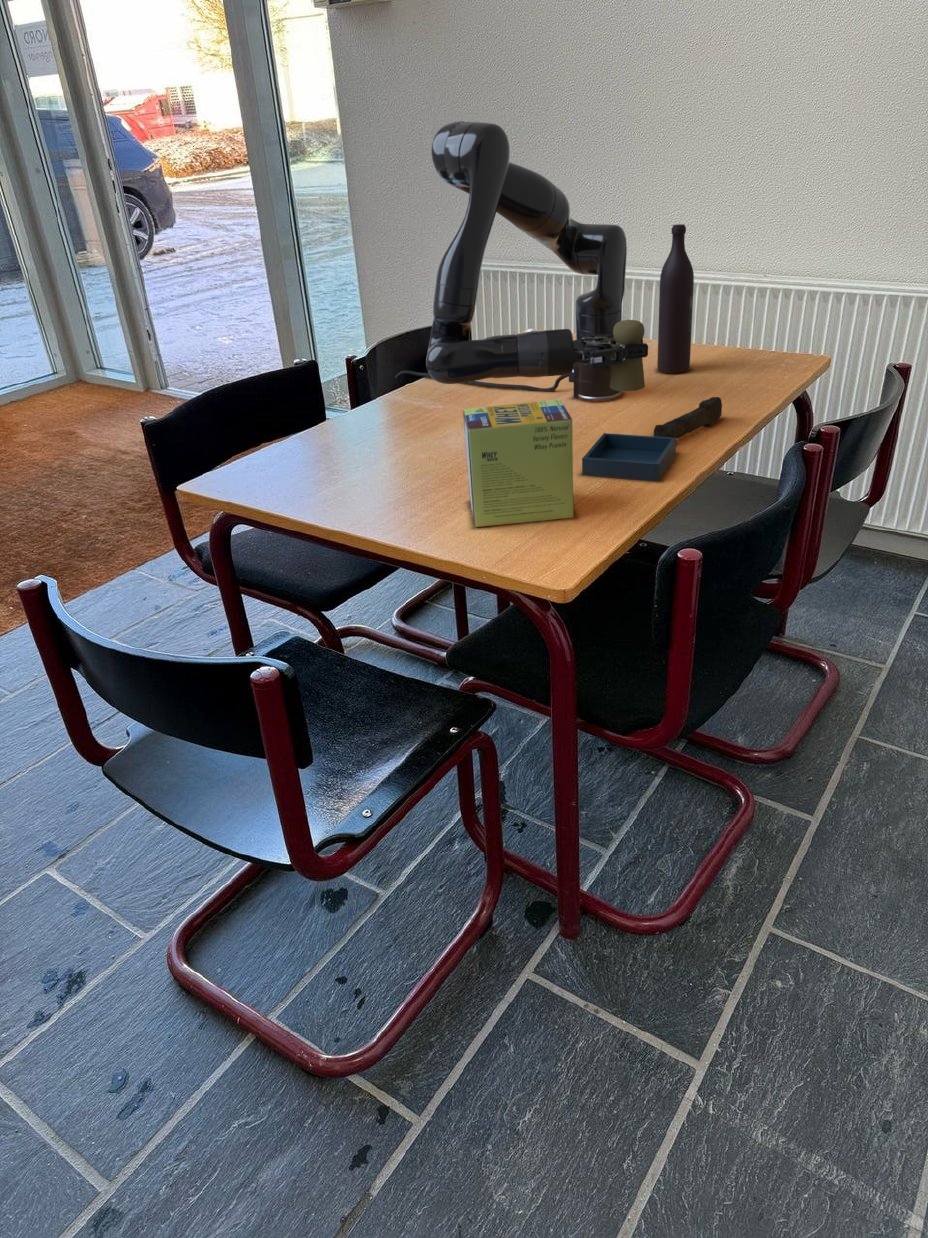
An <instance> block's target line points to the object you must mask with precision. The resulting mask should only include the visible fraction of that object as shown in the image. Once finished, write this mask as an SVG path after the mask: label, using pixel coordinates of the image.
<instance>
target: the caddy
mask: <svg viewBox="0 0 928 1238" xmlns="http://www.w3.org/2000/svg"><path fill="white" fill-rule="evenodd" d="M676 454H677V439H676V438H671V437H655V436H654V435H641V434H640V435H638V434H623V433H609V432H608V433H607V432H604V433H602V434H601V436H600V437H599V438H598V439H597V440H596V441H595V443H594V444H593V445H592V446H591V447H590V448H589V450H588V451H587V452H586V453H585V454H584V456H582V458H581V474H582V476H589V477H601V478H611V479H624V480H636V481H649V482H660V480H661V478H662V477H663V475H664V473H665V472H666V471H667V469H668V467H669V466H670V464H671V463H672V461H673V459H674V458H675V456H676Z"/></svg>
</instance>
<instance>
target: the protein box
mask: <svg viewBox="0 0 928 1238" xmlns="http://www.w3.org/2000/svg"><path fill="white" fill-rule="evenodd" d="M462 416H463V417H462V418H463V428H464V430H463V431H464V440H465V441H464V442H465V453H466V454H465V455H466V465H467V467H466V468H467V481H468V494H469V504H470V509H471V514H472V519H473V524H474V527H475V528H479V527H481V528H482V527H489V526H490V527H491V526H501V525H502V526H503V525H512V524H523V523H531V522H533V523H534V522H541V521H551V520H561V519H572V518H574V517H575V514H574V513H575V511H574V510H575V509H574V507H575V506H574V505H575V504H574V498H575V497H574V456H573V452H574V451H573V450H574V449H573V418H572V416H571V415H570V413H569V412H568V410H567V408H566V407H565V405H564V403H563V401H562V399H559V398H558V399H557V398H556V399H547V400H540V401H530V402H529V401H528V402H518V403H509V404H507V403H506V404H500V405H491V406H481V407H470V408H464V409H462Z"/></svg>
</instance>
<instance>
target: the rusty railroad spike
mask: <svg viewBox="0 0 928 1238" xmlns="http://www.w3.org/2000/svg"><path fill="white" fill-rule="evenodd" d="M722 412H723V403H722V398H720V397H719V396H712V397H709V398H707V399H703V400H702V401H700V402H699V403H698V407H697V408H695V409H693V410H690V411H689V412H686V413H685V414H682V415H680V416H679V417H675V418H674V419H672V420H670V421H667V422H665V423H663V424H656V425H655V426H654V428H653V436H655V437H671V438H676V440H678V439H681V438H682V437H684V436H686V435H688V434H691V433H692V432H694V431H696V430H697V429H700V428H702V427H704V428H705V427H706V428H708V427H712V426H714V425H715V424H716V423H717V422H718V421H719V420H720V418H721V417H722Z"/></svg>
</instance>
